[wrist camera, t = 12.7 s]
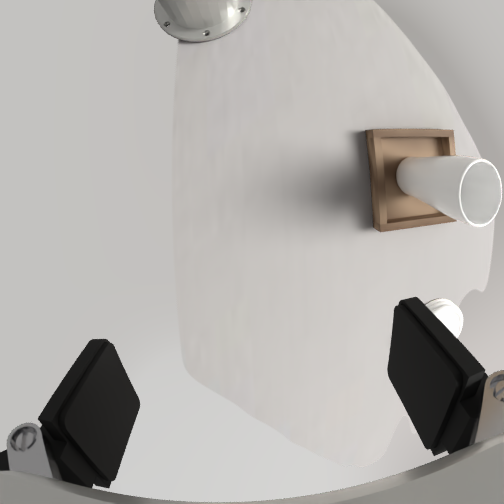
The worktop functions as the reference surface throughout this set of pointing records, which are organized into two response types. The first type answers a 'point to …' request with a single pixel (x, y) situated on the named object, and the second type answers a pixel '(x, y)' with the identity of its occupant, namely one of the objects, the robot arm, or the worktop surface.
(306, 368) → the worktop surface
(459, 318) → the white cup lid
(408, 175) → the white tall cup
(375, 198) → the tray
